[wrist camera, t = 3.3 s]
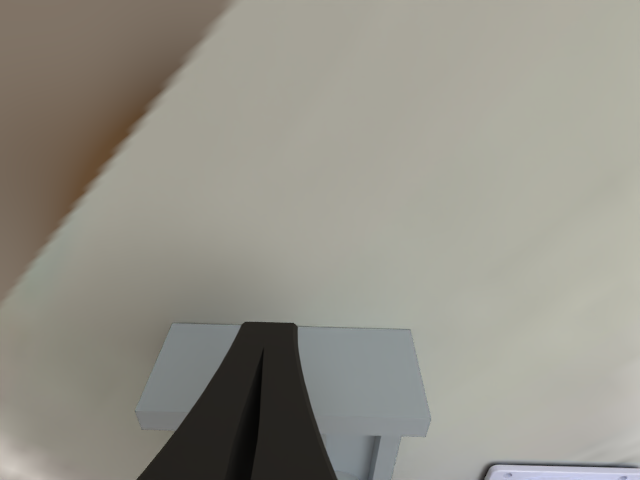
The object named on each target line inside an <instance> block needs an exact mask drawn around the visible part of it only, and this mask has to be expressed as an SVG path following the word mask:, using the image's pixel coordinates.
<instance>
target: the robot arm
mask: <svg viewBox="0 0 640 480" xmlns="http://www.w3.org/2000/svg"><path fill="white" fill-rule="evenodd" d="M137 480H338V479H337V477H336V474H335V472H334V469H333V467H332V464H331V462H330V459H329V456H328V454H327V451H326V448H325V446H324V443H323V440H322V437H321V434H320V431H319V428H318V425H317V422H316V419H315V416H314V413H313V410H312V406H311V403H310V399H309V395H308V392H307V388H306V384H305V380H304V376H303V372H302V367H301V361H300V356H299V348H298V326H297V325H295V324H294V323H275V322H245V323H243V324H242V325H241V327H240V329H239V331H238V333H237V335H236V337H235V339H234V341H233V343H232V345H231V347H230V349H229V350H228V352H227V354H226V356H225V357H224V359H223V361H222V363H221V364H220V366H219V368H218V369H217V371H216V372H215V374H214V376H213V377H212V379H211V380H210V382H209V384H208V385H207V387H206V388H205V390H204V391H203V393H202V394H201V396H200V397H199V399H198V400H197V402H196V403H195V405H194V406H193V407H192V409H191V410H190V412H189V413H188V415H187V416H186V417H185V419H184V420H183V422H182V423H181V424H180V426H179V427H178V429H177V430H176V431H175V433H174V434H173V435H172V437H171V438H170V439H169V440H168V442H167V443H166V444H165V446H164V447H163V448H162V449H161V451H160V452H159V453H158V454H157V456H156V457H155V458H154V459H153V461H152V462H151V463H150V464H149V465H148V467H147V468H146V469H145V470H144V471H143V473H142V474H141V475H140V476H139V477H138V478H137ZM484 480H640V468H610V467H570V466H531V465H494V466H492V467H491V468H490V469H489V471H488V473H487V475H486V477H485V479H484Z"/></svg>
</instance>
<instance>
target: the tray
mask: <svg viewBox="0 0 640 480" xmlns="http://www.w3.org/2000/svg"><path fill="white" fill-rule="evenodd" d="M240 327H241V325H220V324H183V323H172V325H171V328H170V330H169V332H168V335H167V337H166V339H165V342H164V344H163V346H162V349H161V351H160V353H159V356H158V358H157V360H156V363H155V365H154V367H153V370H152V372H151V374H150V377H149V379H148V381H147V384H146V386H145V388H144V391H143V393H142V395H141V398H140V400H139V402H138V405H137V407H136V409H135V413H136V415H137V418H138V421H139V424H140V426H141V429H142V430H177V429H178V427H179V426H180V424H181V423H182V422H183V420H184V419H185V417H186V416H187V415H188V413H189V412H190V410H191V409H192V407H193V406H194V405H195V403H196V402H197V400H198V399H199V397H200V396H201V394H202V393H203V391H204V390H205V388H206V387H207V385H208V384H209V382H210V380H211V379H212V377H213V376H214V374H215V372H216V371H217V369H218V368H219V366H220V364H221V363H222V361H223V359H224V357H225V356H226V354H227V352H228V350H229V349H230V347H231V345H232V343H233V341H234V339H235V337H236V335H237V333H238V331H239V329H240ZM298 348H299V356H300V361H301V367H302V372H303V376H304V380H305V384H306V388H307V392H308V395H309V399H310V403H311V406H312V410H313V413H314V416H315V419H316V422H317V425H318V428H319V431H320V434H321V437H322V440H323V443H324V446H325V448H326V451H327V454H328V456H329V459H330V462H331V464H332V467H333V469H334V472H335V474H336V477H337V479H338V480H391V478H392V474H393V469H394V465H395V461H396V457H397V453H398V449H399V444H400V440H401V436H409V437H426V435H427V431H428V428H429V425H430V421H431V415H430V411H429V407H428V402H427V398H426V394H425V390H424V385H423V381H422V377H421V372H420V368H419V364H418V360H417V355H416V351H415V347H414V343H413V338H412V334H411V330H404V329H367V328H330V327H298Z"/></svg>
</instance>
